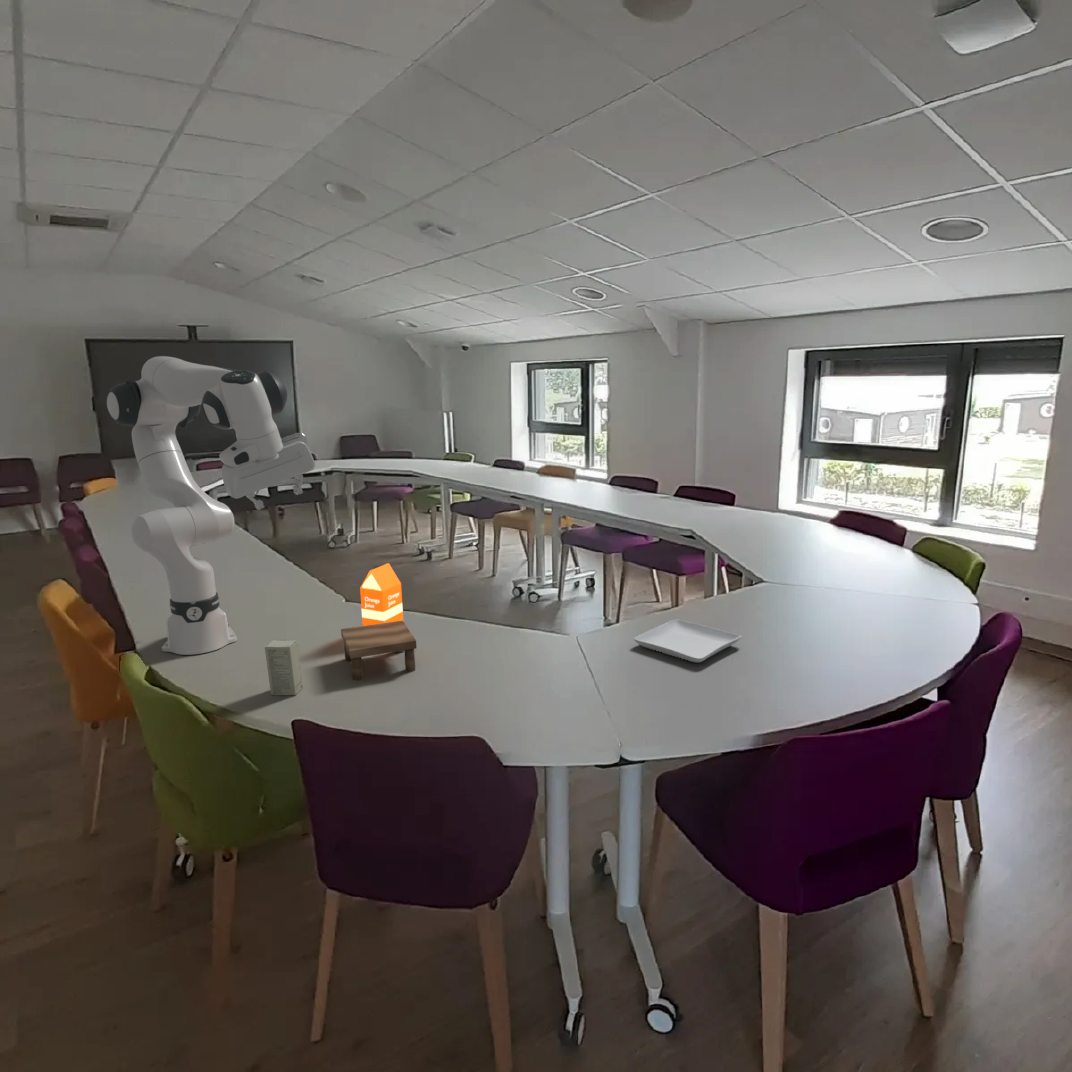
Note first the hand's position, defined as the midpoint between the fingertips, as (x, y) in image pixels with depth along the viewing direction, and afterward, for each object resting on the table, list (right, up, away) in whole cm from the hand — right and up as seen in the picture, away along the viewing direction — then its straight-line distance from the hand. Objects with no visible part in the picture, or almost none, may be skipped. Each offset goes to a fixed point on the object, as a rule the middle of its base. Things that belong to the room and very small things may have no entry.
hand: (279, 500), depth 163 cm
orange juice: (+16, -36, +38) cm, 55 cm away
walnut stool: (+19, -41, +17) cm, 48 cm away
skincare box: (+1, -45, +2) cm, 45 cm away
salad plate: (+100, -38, +26) cm, 110 cm away
